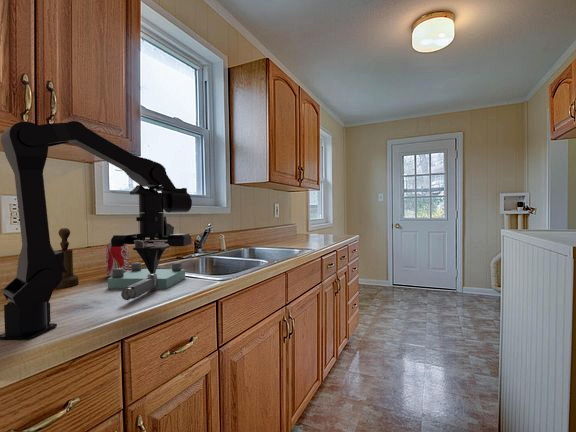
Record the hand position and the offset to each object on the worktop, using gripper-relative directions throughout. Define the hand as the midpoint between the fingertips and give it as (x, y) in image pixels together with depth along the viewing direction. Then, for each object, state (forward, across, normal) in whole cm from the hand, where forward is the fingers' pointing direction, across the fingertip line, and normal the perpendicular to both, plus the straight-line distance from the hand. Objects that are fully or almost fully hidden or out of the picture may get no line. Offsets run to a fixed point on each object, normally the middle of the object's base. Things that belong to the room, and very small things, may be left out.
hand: (152, 273), depth 79 cm
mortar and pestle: (+7, +36, -15) cm, 40 cm away
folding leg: (+7, +5, -3) cm, 9 cm away
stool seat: (+7, +11, -19) cm, 23 cm away
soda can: (+7, +28, -29) cm, 41 cm away
